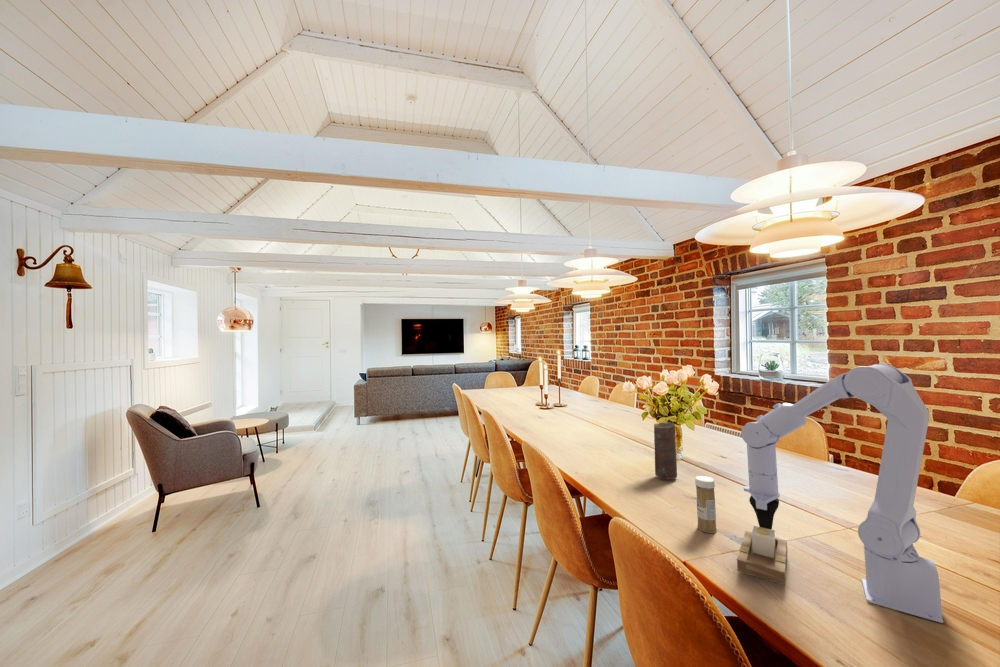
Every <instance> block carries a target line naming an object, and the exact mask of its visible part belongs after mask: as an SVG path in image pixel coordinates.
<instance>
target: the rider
mask: <svg viewBox="0 0 1000 667" xmlns="http://www.w3.org/2000/svg"><path fill="white" fill-rule="evenodd" d="M751 532H752V549H753V553H756V554H759V555H763V556H767V557H771V558H774V557H775V549H776V547H775V538H776V533H775V530H774V529H772V530H771V529H766V528H762V527H760V526H757V525H753V528H752V531H751Z"/></svg>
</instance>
